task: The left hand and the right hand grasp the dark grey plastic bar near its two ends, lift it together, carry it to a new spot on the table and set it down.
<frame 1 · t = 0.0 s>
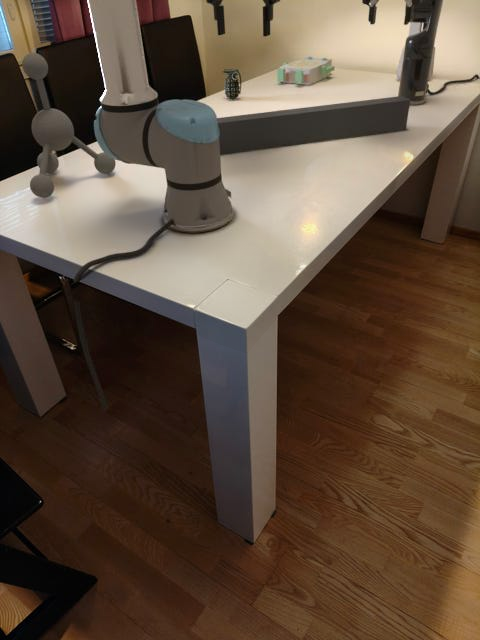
left hand: (243, 35, 129), 28 cm above the table, tool pointing down, fingers open, 13 cm apart
right hand: (389, 24, 124), 29 cm above the table, tool pointing down, fingers open, 8 cm apart
electronic device: (413, 80, 197), on the table
decorative block: (304, 79, 207), on the table
grenade: (233, 99, 187), on the table
molecular model: (76, 180, 128), on the table
bar: (292, 142, 144), on the table
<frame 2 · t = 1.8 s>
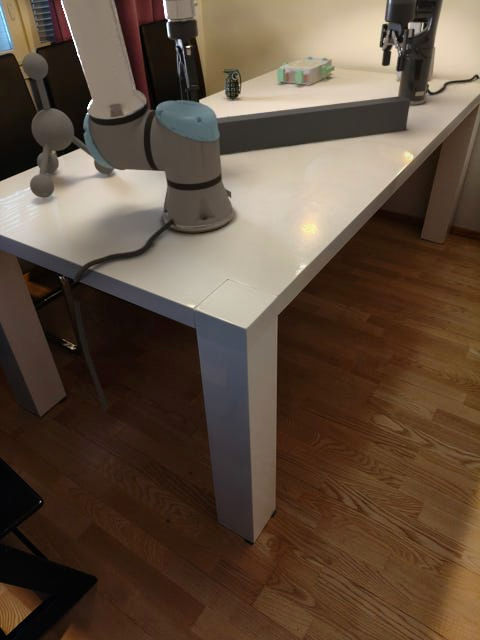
left hand: (191, 110, 132), 12 cm above the table, tool pointing down, fingers open, 13 cm apart
right hand: (392, 68, 138), 17 cm above the table, tool pointing down, fingers open, 8 cm apart
nothing on the table moved.
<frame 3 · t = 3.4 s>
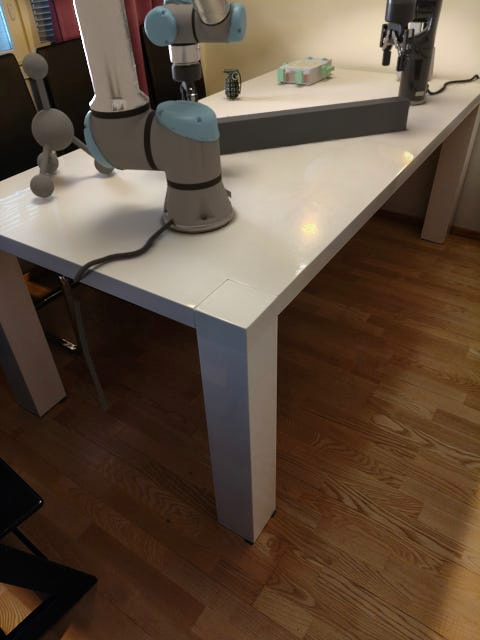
left hand: (195, 152, 139), 1 cm above the table, tool pointing down, fingers closed on bar, 5 cm apart
right hand: (392, 68, 138), 17 cm above the table, tool pointing down, fingers open, 8 cm apart
bar: (292, 142, 144), on the table, touching left hand
everything else where it was.
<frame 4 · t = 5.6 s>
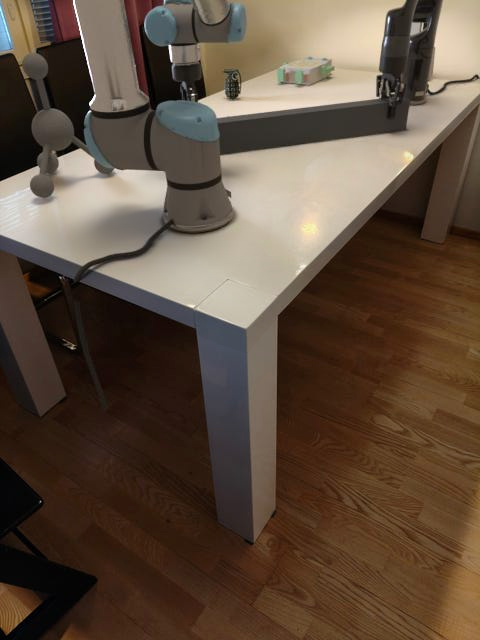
left hand: (195, 152, 139), 1 cm above the table, tool pointing down, fingers closed on bar, 5 cm apart
right hand: (386, 116, 146), 4 cm above the table, tool pointing down, fingers closed on bar, 5 cm apart
bar: (292, 142, 144), on the table, touching left hand, right hand
everything else where it was.
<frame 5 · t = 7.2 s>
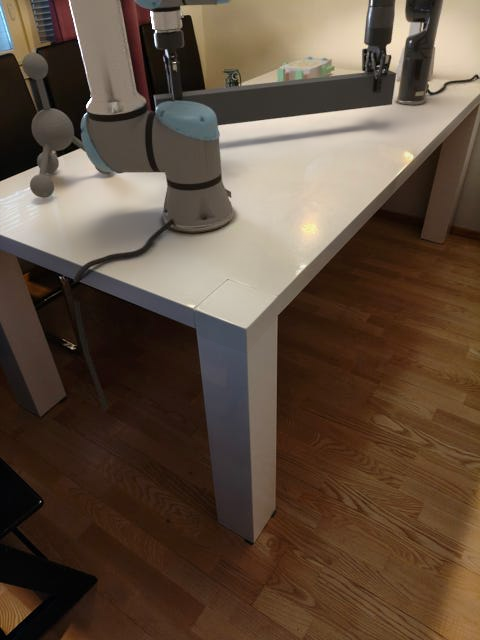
left hand: (179, 124, 138), 8 cm above the table, tool pointing down, fingers closed on bar, 5 cm apart
right hand: (372, 90, 146), 11 cm above the table, tool pointing down, fingers closed on bar, 5 cm apart
bar: (278, 115, 143), point 7 cm above the table, touching left hand, right hand
everything else where it was.
when the left hand's fingers open (2 cm above the table, at t = 9.1 s): bar drops 1 cm, on the table.
when the right hand's fingers open (6 cm above the table, at t = 9.3 s): bar stays where it is, on the table.
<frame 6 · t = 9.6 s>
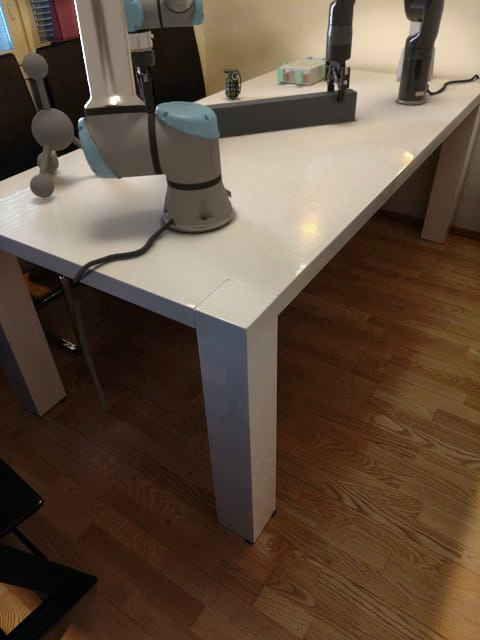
left hand: (152, 129, 147), 4 cm above the table, tool pointing down, fingers open, 12 cm apart
right hand: (335, 99, 155), 6 cm above the table, tool pointing down, fingers open, 8 cm apart
bar: (248, 131, 154), on the table
everything else where it was.
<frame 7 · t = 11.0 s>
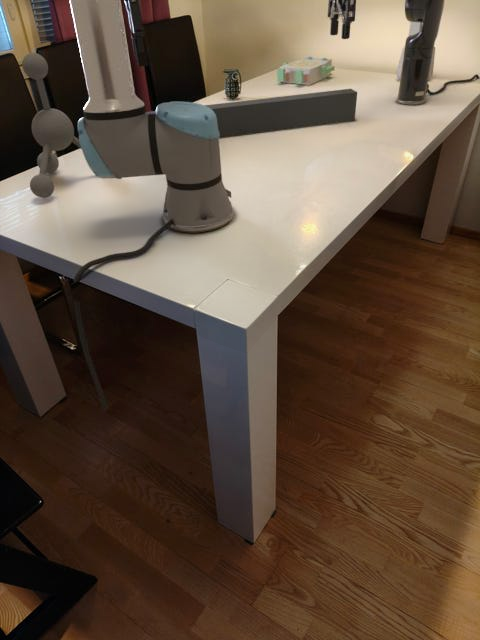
left hand: (141, 61, 136), 23 cm above the table, tool pointing down, fingers open, 13 cm apart
right hand: (339, 36, 144), 24 cm above the table, tool pointing down, fingers open, 8 cm apart
nothing on the table moved.
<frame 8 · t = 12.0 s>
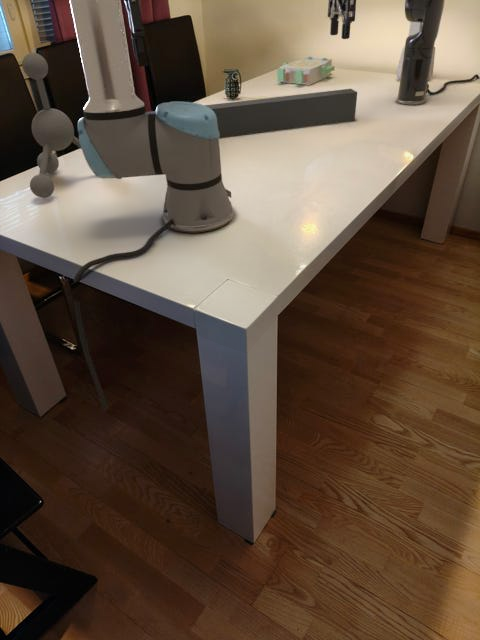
left hand: (141, 61, 136), 23 cm above the table, tool pointing down, fingers open, 13 cm apart
right hand: (339, 36, 144), 24 cm above the table, tool pointing down, fingers open, 8 cm apart
nothing on the table moved.
at the end: bar inside the target area (0.4 cm from its centre), on the table; bar tilted 0°; bar never tilted more than 2° during the clip; both hands held the bar at the same time; the left hand is holding nothing; the right hand is holding nothing; bar at rest at the end (0.0 cm/s) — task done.
